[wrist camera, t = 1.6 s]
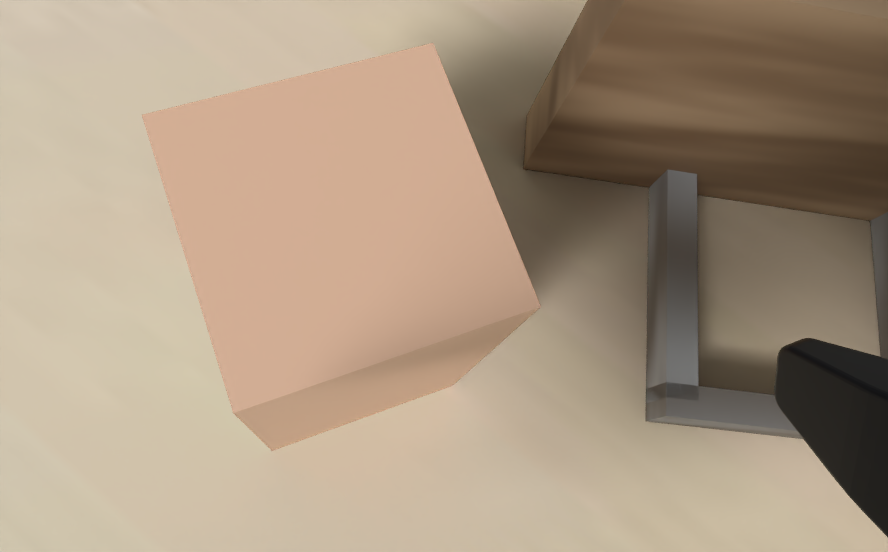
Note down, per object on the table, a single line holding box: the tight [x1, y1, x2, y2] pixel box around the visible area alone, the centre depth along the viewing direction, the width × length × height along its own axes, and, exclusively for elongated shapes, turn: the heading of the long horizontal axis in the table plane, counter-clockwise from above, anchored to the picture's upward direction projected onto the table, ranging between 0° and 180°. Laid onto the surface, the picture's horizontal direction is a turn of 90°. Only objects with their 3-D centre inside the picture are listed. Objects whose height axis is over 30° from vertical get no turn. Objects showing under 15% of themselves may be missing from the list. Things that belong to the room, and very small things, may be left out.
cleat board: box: [523, 0, 888, 439], centre depth 21 cm, size 10×18×10 cm, turn 85°
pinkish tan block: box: [142, 43, 541, 451], centre depth 19 cm, size 6×6×10 cm
